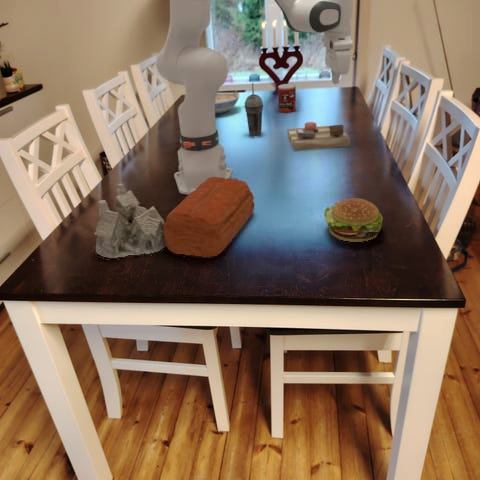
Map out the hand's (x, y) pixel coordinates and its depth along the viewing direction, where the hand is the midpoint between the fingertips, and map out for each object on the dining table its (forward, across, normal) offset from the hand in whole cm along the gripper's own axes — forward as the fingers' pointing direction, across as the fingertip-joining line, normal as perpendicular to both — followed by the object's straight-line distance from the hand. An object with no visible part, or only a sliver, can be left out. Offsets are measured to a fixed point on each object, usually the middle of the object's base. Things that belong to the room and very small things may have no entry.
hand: (335, 83), depth 162 cm
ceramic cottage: (+21, +66, -64) cm, 95 cm away
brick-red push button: (+17, -3, -8) cm, 19 cm away
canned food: (+20, -44, -11) cm, 50 cm away
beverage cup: (+21, -13, -28) cm, 37 cm away
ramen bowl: (+21, -51, -43) cm, 70 cm away
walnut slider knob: (+17, +4, 0) cm, 17 cm away
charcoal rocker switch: (+16, +4, -11) cm, 20 cm away
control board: (+20, 0, -6) cm, 21 cm away
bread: (+21, +62, -45) cm, 79 cm away
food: (+21, +68, -11) cm, 72 cm away
